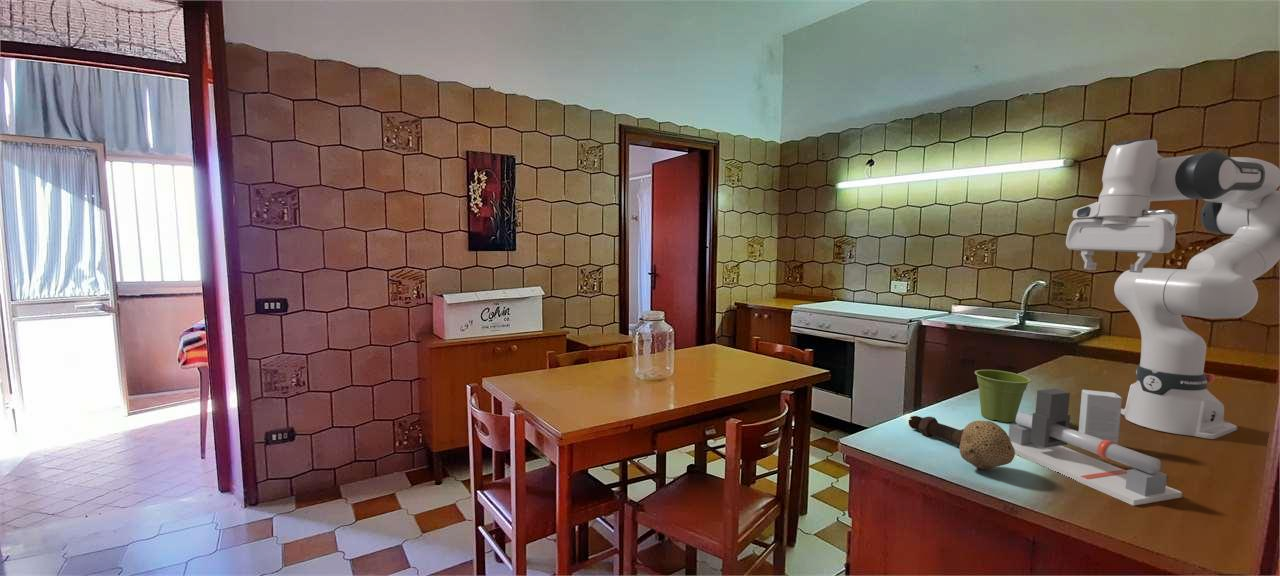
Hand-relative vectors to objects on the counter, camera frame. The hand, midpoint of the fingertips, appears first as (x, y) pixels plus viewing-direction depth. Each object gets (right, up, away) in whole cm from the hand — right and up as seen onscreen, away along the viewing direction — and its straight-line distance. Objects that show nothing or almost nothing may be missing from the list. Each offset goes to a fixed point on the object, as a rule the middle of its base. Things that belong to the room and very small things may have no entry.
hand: (1111, 271), depth 120 cm
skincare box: (-6, -40, -2) cm, 40 cm away
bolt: (-40, -39, 0) cm, 56 cm away
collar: (-21, -37, -9) cm, 44 cm away
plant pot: (-16, -38, +14) cm, 43 cm away
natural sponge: (-39, -41, -15) cm, 59 cm away
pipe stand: (-20, -41, -14) cm, 47 cm away
